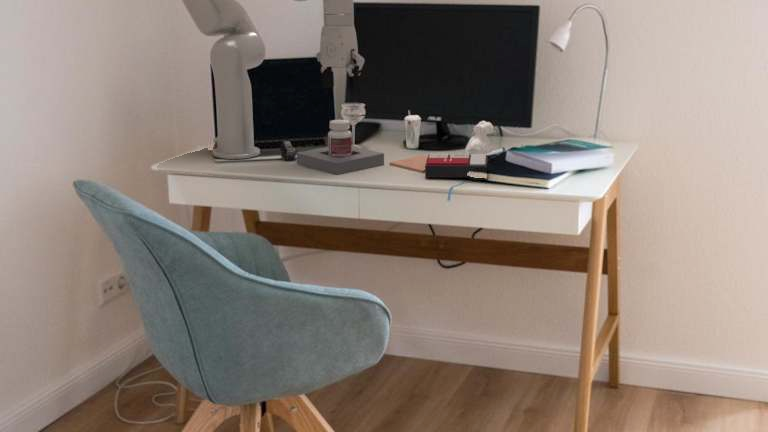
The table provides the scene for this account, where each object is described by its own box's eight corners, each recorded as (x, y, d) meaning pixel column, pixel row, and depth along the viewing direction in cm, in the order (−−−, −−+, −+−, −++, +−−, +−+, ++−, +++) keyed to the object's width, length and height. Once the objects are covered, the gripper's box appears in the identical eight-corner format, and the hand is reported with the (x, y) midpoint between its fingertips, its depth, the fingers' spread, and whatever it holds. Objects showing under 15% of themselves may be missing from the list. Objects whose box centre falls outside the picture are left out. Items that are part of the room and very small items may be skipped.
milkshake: (416, 144, 273) (416, 109, 270) (422, 148, 268) (423, 112, 265) (401, 145, 271) (401, 110, 269) (407, 149, 267) (407, 113, 264)
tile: (389, 164, 250) (389, 162, 249) (422, 157, 257) (422, 155, 257) (422, 172, 241) (422, 170, 241) (455, 165, 249) (455, 162, 249)
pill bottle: (356, 165, 249) (356, 122, 246) (336, 168, 246) (335, 124, 243) (344, 160, 254) (343, 118, 251) (324, 163, 251) (323, 120, 248)
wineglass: (336, 147, 270) (336, 104, 267) (356, 143, 274) (355, 101, 271) (351, 151, 265) (350, 107, 262) (370, 147, 269) (370, 105, 266)
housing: (296, 164, 250) (296, 152, 249) (343, 154, 261) (343, 143, 260) (336, 174, 239) (336, 163, 238) (384, 164, 250) (384, 153, 249)
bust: (473, 172, 251) (500, 140, 247) (451, 153, 252) (478, 120, 247) (482, 161, 262) (509, 131, 258) (461, 143, 263) (487, 112, 258)
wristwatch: (282, 165, 256) (288, 153, 252) (278, 149, 258) (283, 138, 254) (293, 165, 257) (299, 153, 253) (288, 149, 259) (294, 138, 256)
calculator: (428, 151, 244) (487, 151, 242) (428, 168, 245) (487, 168, 244) (424, 162, 234) (487, 162, 232) (425, 179, 235) (487, 180, 233)
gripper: (305, 20, 243) (307, 88, 248) (350, 23, 231) (352, 95, 236) (328, 18, 248) (330, 84, 253) (373, 21, 236) (374, 91, 241)
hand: (340, 89), depth 244 cm, fingers open, 9 cm apart
